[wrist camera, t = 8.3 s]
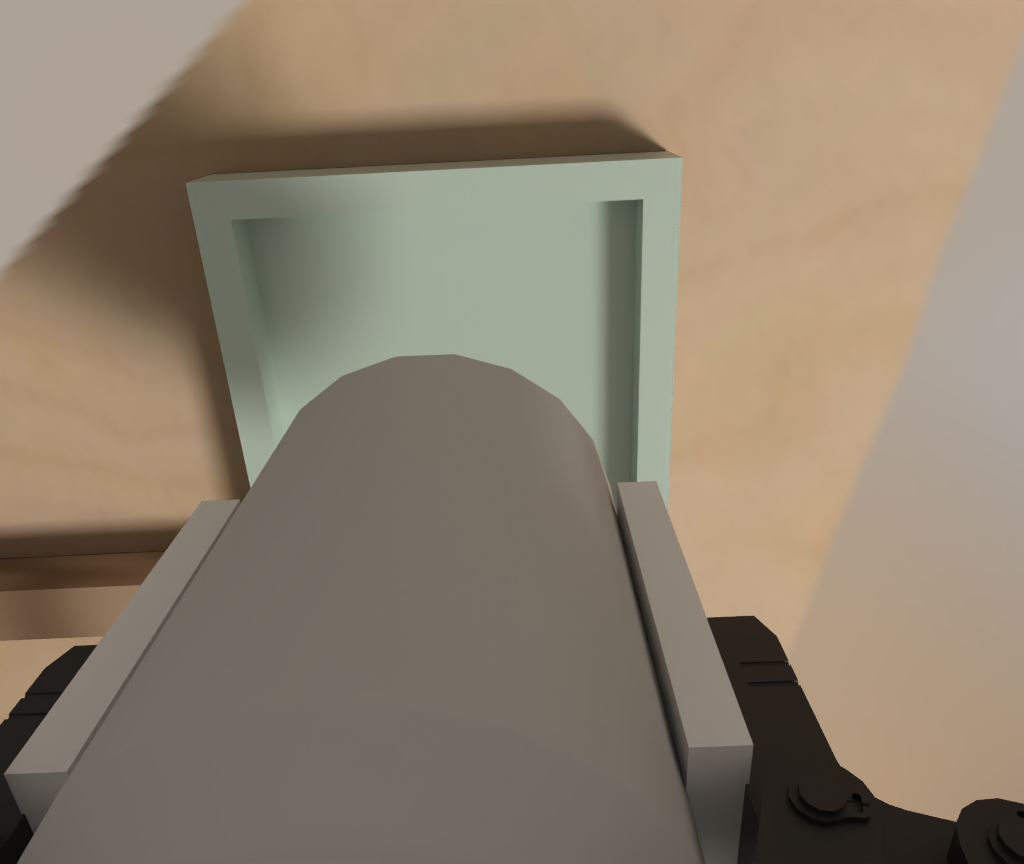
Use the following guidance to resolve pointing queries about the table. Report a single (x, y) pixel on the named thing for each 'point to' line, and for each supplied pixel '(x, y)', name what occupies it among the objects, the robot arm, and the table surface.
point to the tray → (453, 286)
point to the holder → (68, 593)
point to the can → (397, 655)
